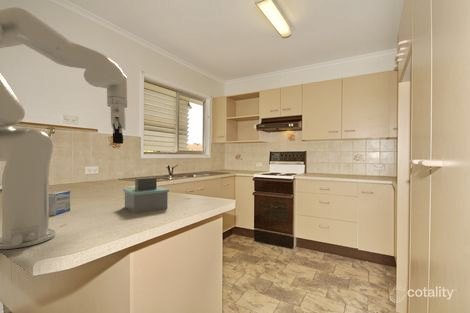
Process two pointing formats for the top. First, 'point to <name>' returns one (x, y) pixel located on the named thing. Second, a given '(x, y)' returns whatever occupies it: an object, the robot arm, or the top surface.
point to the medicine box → (59, 202)
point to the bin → (146, 202)
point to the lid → (145, 187)
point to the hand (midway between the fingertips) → (118, 143)
